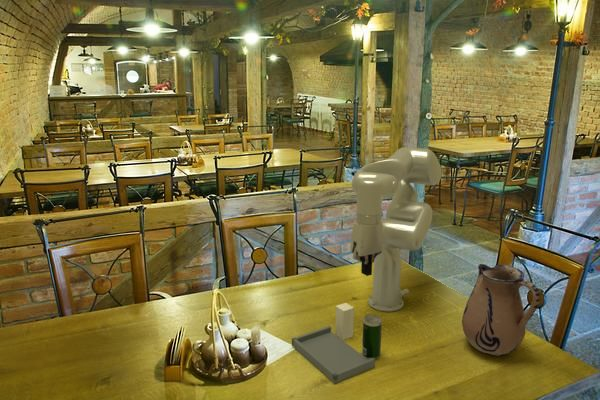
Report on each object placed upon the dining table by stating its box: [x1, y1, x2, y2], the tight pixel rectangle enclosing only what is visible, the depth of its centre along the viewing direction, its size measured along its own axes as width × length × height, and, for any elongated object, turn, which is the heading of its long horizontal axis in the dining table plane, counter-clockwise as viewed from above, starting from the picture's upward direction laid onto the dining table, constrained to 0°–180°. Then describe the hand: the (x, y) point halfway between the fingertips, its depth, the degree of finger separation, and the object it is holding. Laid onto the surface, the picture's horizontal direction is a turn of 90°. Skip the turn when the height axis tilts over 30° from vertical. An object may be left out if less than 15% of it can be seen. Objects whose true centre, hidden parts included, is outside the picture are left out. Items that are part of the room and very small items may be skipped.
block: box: [334, 302, 355, 341], centre depth 153 cm, size 4×4×10 cm
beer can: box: [361, 313, 383, 360], centre depth 142 cm, size 5×5×12 cm
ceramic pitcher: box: [461, 263, 541, 357], centre depth 143 cm, size 18×21×25 cm
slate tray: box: [291, 325, 376, 384], centre depth 143 cm, size 14×22×2 cm, turn 32°
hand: (366, 274), depth 153 cm, fingers closed
